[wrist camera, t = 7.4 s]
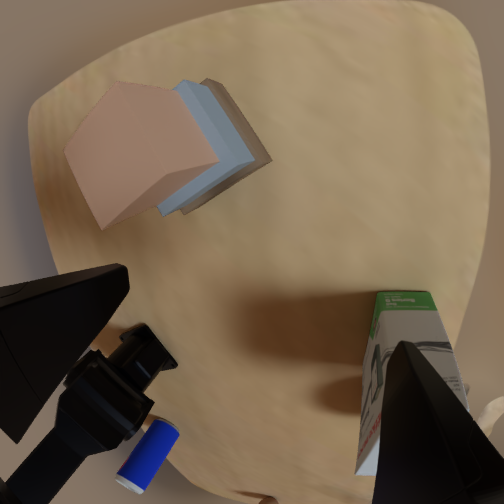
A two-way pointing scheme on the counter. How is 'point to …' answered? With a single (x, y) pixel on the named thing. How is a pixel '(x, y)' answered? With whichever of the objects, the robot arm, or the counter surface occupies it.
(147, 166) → the cube
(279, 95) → the counter surface
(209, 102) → the tower top
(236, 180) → the tower base
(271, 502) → the egg
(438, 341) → the ink box
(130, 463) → the beverage can
